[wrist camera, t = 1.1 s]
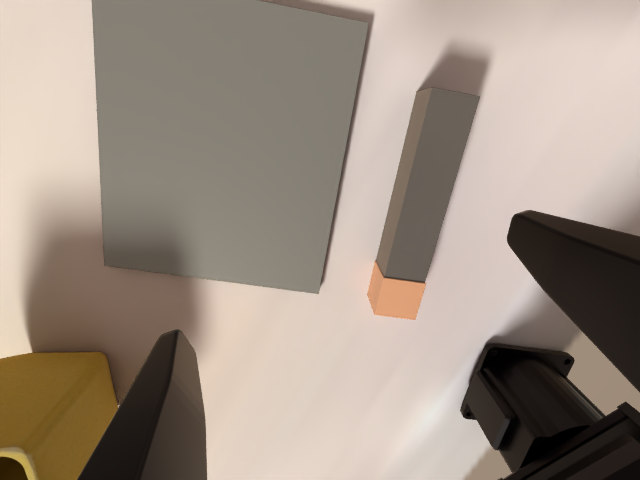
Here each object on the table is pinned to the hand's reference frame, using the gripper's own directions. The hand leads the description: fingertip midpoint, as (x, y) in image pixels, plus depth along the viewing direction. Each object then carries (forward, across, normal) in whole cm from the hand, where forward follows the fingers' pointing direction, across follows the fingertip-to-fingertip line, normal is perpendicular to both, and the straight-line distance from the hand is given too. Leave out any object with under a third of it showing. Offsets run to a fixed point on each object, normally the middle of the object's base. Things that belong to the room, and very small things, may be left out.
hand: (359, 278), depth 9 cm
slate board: (+13, +3, +1) cm, 13 cm away
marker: (+9, -7, +6) cm, 13 cm away
